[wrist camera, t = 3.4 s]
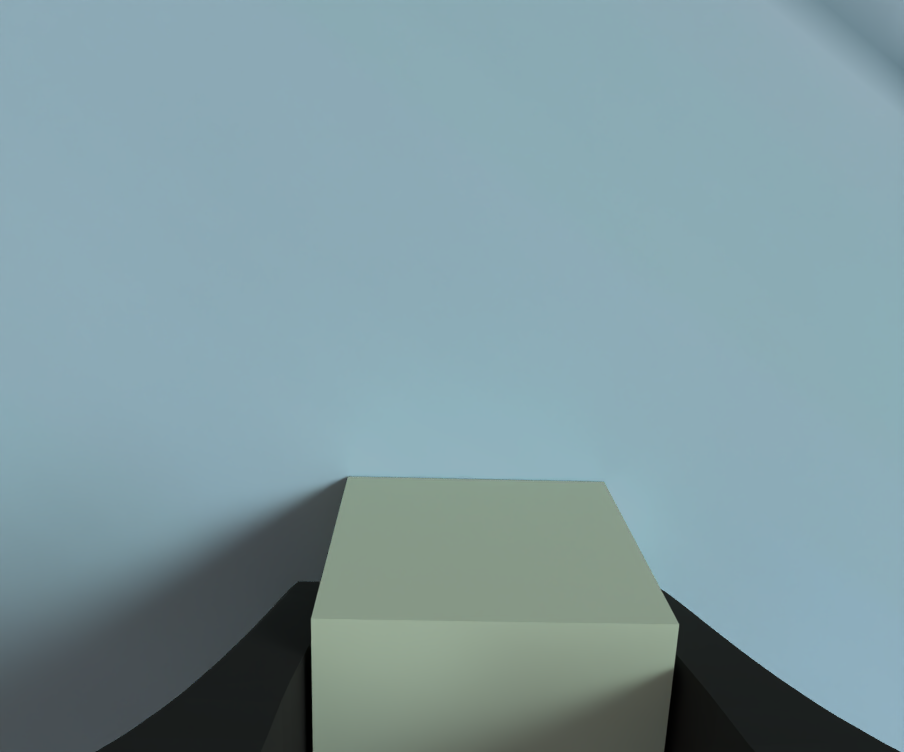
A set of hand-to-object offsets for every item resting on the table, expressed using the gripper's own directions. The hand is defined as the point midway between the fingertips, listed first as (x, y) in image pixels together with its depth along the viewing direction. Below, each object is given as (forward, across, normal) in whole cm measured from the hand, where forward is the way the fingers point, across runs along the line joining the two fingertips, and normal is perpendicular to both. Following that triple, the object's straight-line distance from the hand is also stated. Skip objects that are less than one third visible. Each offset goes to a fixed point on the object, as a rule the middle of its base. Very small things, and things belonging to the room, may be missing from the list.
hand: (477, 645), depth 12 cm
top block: (+1, 0, 0) cm, 1 cm away
